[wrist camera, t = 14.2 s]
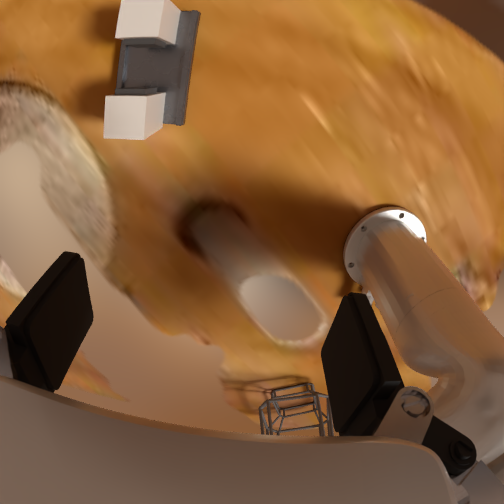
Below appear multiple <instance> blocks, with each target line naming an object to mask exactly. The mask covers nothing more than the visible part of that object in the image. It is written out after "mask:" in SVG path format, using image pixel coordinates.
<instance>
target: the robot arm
mask: <svg viewBox="0 0 504 504" xmlns="http://www.w3.org/2000/svg"><path fill="white" fill-rule="evenodd" d="M343 260H344V265H345V267H346V270H347V272H348V274H349V275H350V277H351V278H352V279H353V280H354V281H355V282H356V283H358V284H360V285H361V286H363V289H362V291H361V292H362V293H353V292H350V293H349V294H348V296H344V297H343V299H342V301H341V304H340V306H339V309H338V311H337V314H336V316H335V318H334V321H333V323H332V326H331V328H330V330H329V333H328V335H327V338H326V340H325V342H324V344H323V347H322V350H321V358H322V364H323V369H324V374H325V379H326V385H327V390H328V396H329V401H330V407H331V413H332V419H333V424H334V429H335V431H336V432H339V436H328V437H326V436H279V435H261V434H248V433H237V432H227V431H218V430H210V429H203V428H196V427H189V426H182V425H177V424H171V423H166V422H160V421H155V420H150V419H146V418H140V417H136V416H132V415H128V414H124V413H120V412H115V411H112V410H108V409H104V408H100V407H97V406H93V405H90V404H86V403H83V402H80V401H76V400H73V399H70V398H67V397H64V396H61V395H58V394H55V393H54V391H55V390H58V389H59V387H60V386H61V383H62V381H63V379H64V377H65V375H66V373H67V371H68V369H69V367H70V365H71V363H72V361H73V359H74V357H75V355H76V353H77V351H78V349H79V347H80V345H81V343H82V341H83V339H84V338H85V336H86V334H87V332H88V330H89V328H90V326H91V325H92V322H93V310H92V305H91V300H90V294H89V289H88V283H87V277H86V270H85V263H84V260H83V258H81V257H80V255H79V254H78V253H73V252H63V253H62V254H61V255H60V256H59V258H58V259H57V260H56V261H55V262H54V263H53V264H52V265H51V266H50V268H49V269H48V270H47V271H46V272H45V273H44V275H43V276H42V277H41V278H40V279H39V281H38V282H37V283H36V284H35V285H34V286H33V288H32V289H31V290H30V291H29V293H28V294H27V295H26V296H25V297H24V299H23V300H22V301H21V302H20V304H19V305H18V306H17V307H16V309H15V310H14V311H13V313H12V314H11V315H10V317H9V318H8V319H7V321H6V324H7V325H6V326H5V328H4V329H3V328H2V327H1V326H0V504H504V337H503V336H502V335H501V334H500V333H499V332H498V331H497V329H496V328H495V327H494V326H493V325H492V323H491V322H490V321H489V320H488V319H487V317H486V316H485V315H484V313H483V312H482V311H481V310H480V308H479V307H478V306H477V305H476V303H475V302H474V301H473V299H472V298H471V297H470V295H469V294H468V293H467V292H466V290H465V289H464V288H463V287H462V285H461V284H460V283H459V281H458V280H457V279H456V278H455V277H454V275H453V274H452V273H451V272H450V270H449V269H448V268H447V267H446V266H445V264H444V263H443V262H442V261H441V260H440V259H439V257H438V256H437V255H436V254H435V253H434V252H433V250H432V249H431V248H430V247H429V246H428V245H427V244H426V232H425V228H424V226H423V224H422V222H421V221H420V220H419V219H418V217H417V216H415V215H414V214H413V213H412V212H410V211H409V210H407V209H404V208H400V207H385V208H381V209H378V210H375V211H373V212H371V213H369V214H368V215H366V216H365V217H364V218H362V219H361V220H360V221H359V222H358V223H357V224H356V225H355V226H354V227H353V229H352V230H351V232H350V233H349V235H348V237H347V240H346V242H345V246H344V250H343ZM373 300H375V303H376V304H375V306H376V307H377V308H378V309H379V311H380V313H381V315H382V317H383V319H384V321H385V323H386V326H387V328H388V330H389V332H390V334H391V336H392V339H393V341H394V343H395V345H396V347H397V349H398V352H399V354H400V356H401V358H402V359H403V361H404V362H405V363H406V365H407V366H409V367H410V368H411V369H412V370H414V371H416V372H418V373H420V374H423V375H426V376H430V377H434V378H439V379H438V382H437V383H436V384H435V386H434V387H432V388H431V389H430V390H429V391H428V392H427V393H426V392H425V391H423V390H422V389H420V388H417V387H413V386H408V387H405V386H404V384H403V381H402V378H401V376H400V373H399V370H398V368H397V365H396V363H395V360H394V358H393V355H392V353H391V350H390V348H389V345H388V343H387V340H386V338H385V335H384V334H383V332H382V330H381V328H380V325H379V323H378V321H377V318H376V316H375V313H374V311H373V309H372V307H371V306H372V302H373Z"/></svg>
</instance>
